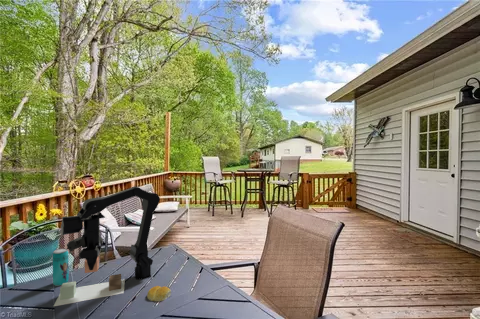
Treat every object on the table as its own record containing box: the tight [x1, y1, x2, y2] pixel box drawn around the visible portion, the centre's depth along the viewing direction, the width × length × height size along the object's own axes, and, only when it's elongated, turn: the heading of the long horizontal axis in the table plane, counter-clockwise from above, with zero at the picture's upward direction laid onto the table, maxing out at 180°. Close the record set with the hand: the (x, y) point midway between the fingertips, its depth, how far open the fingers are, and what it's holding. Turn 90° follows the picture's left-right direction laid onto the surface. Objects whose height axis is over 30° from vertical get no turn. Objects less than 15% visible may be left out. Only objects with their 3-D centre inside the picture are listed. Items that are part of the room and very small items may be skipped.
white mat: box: [52, 278, 126, 307], centre depth 106 cm, size 24×13×1 cm, turn 113°
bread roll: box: [146, 285, 172, 302], centre depth 103 cm, size 8×9×4 cm
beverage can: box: [52, 248, 70, 287], centre depth 114 cm, size 6×6×15 cm
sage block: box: [59, 281, 77, 300], centre depth 103 cm, size 4×4×4 cm
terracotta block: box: [84, 255, 100, 274], centre depth 106 cm, size 4×4×4 cm
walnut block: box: [108, 273, 122, 291], centre depth 110 cm, size 4×4×4 cm
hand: (92, 267), depth 106 cm, fingers closed on terracotta block, 4 cm apart
